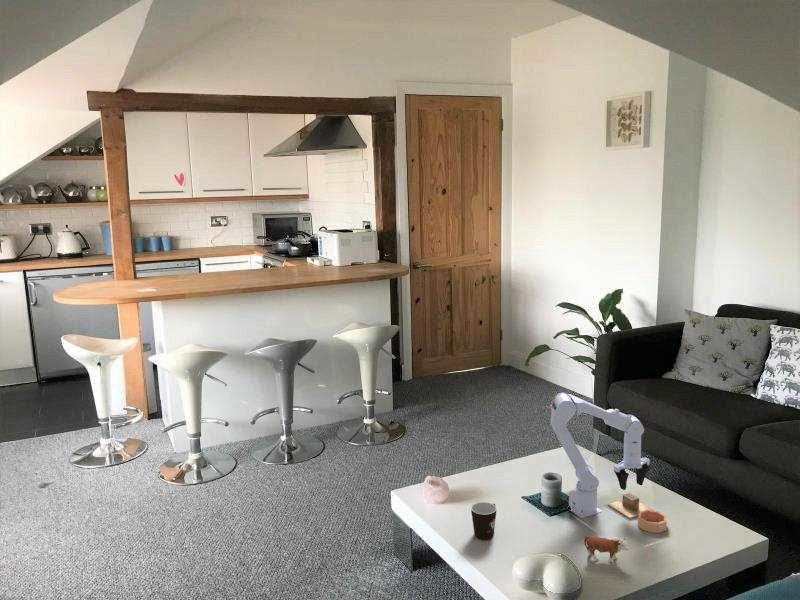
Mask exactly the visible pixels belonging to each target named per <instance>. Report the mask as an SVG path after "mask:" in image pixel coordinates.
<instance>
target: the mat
mask: <svg viewBox="0 0 800 600" xmlns="http://www.w3.org/2000/svg"><path fill="white" fill-rule="evenodd" d="M608 504H609V503H606V504H604V505H603V506H604V507H606V508H607V509H609V510H610V511H612V512H613V513H615V514H617V515H618V516H620V517H622V518H623V519H625V520H627V521H628V522H632V521H634V520H638V517H636V518H632V519H628V518H627V517H625V516H623V515H622V514H620V513H619V512H617V511H615V510H614V509H612V508H611V507H609V506H608Z"/></svg>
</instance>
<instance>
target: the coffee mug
mask: <svg viewBox="0 0 800 600" xmlns="http://www.w3.org/2000/svg"><path fill="white" fill-rule="evenodd" d="M497 510H498V509H497V505H496V504H495V503H492V502H488V501H478V502H476V503H473V504H472V505H471V506H470V512H471V519H472V520H471V521H472V525H473V526H472V527H473V534H474V537H475V538H476V539H477V540H479V541H489V540H492V539H493V538H494V534H495V528H496V527H495V525H496V516H497Z"/></svg>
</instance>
